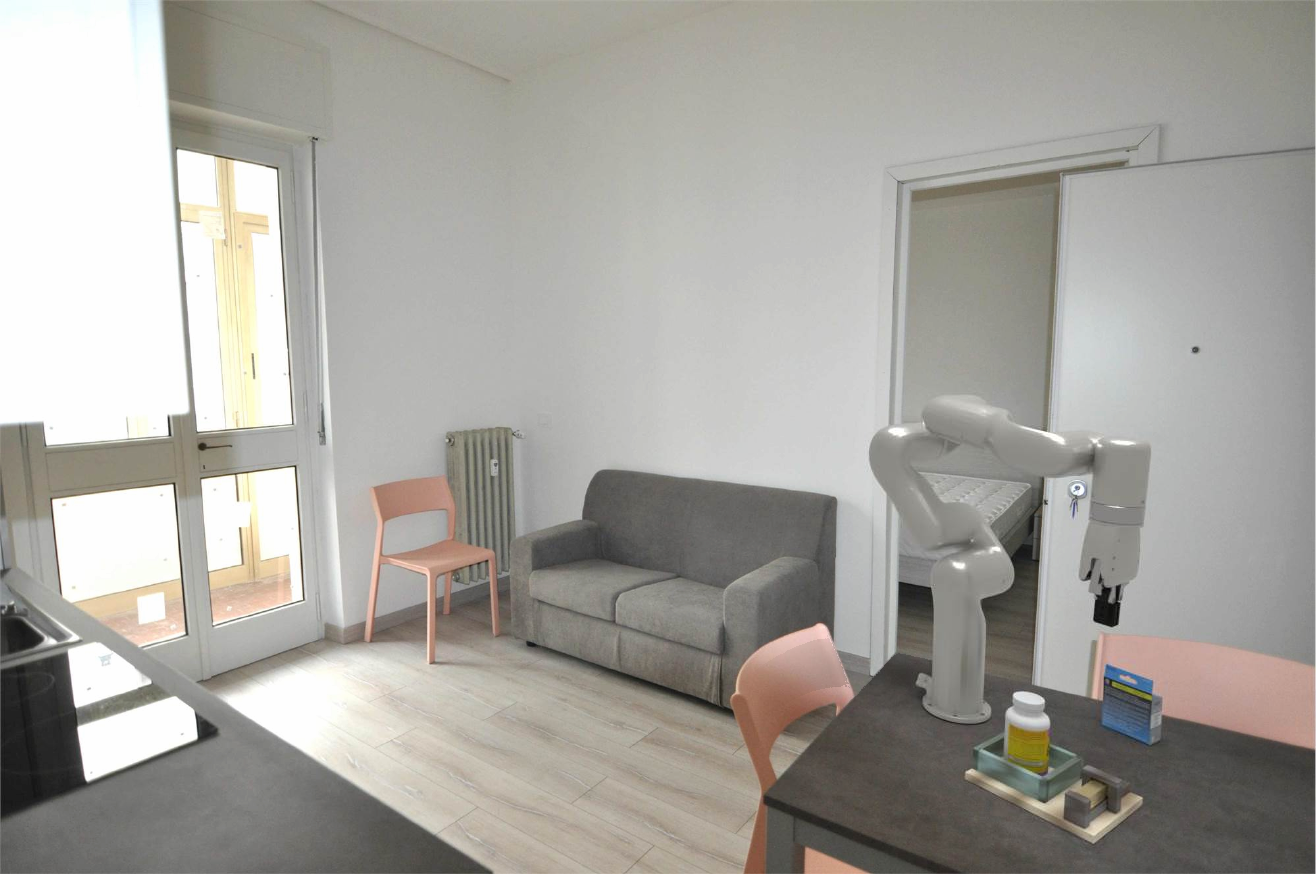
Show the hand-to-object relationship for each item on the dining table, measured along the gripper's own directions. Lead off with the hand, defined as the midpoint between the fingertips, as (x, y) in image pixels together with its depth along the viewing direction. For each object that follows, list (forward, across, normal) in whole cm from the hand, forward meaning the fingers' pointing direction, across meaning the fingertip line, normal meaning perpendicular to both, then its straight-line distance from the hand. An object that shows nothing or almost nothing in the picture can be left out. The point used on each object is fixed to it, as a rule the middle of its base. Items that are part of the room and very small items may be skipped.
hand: (1105, 623), depth 119 cm
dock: (+26, +11, -1) cm, 28 cm away
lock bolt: (+23, +12, +6) cm, 27 cm away
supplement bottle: (+25, +11, -5) cm, 28 cm away
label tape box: (+26, -20, -3) cm, 33 cm away
